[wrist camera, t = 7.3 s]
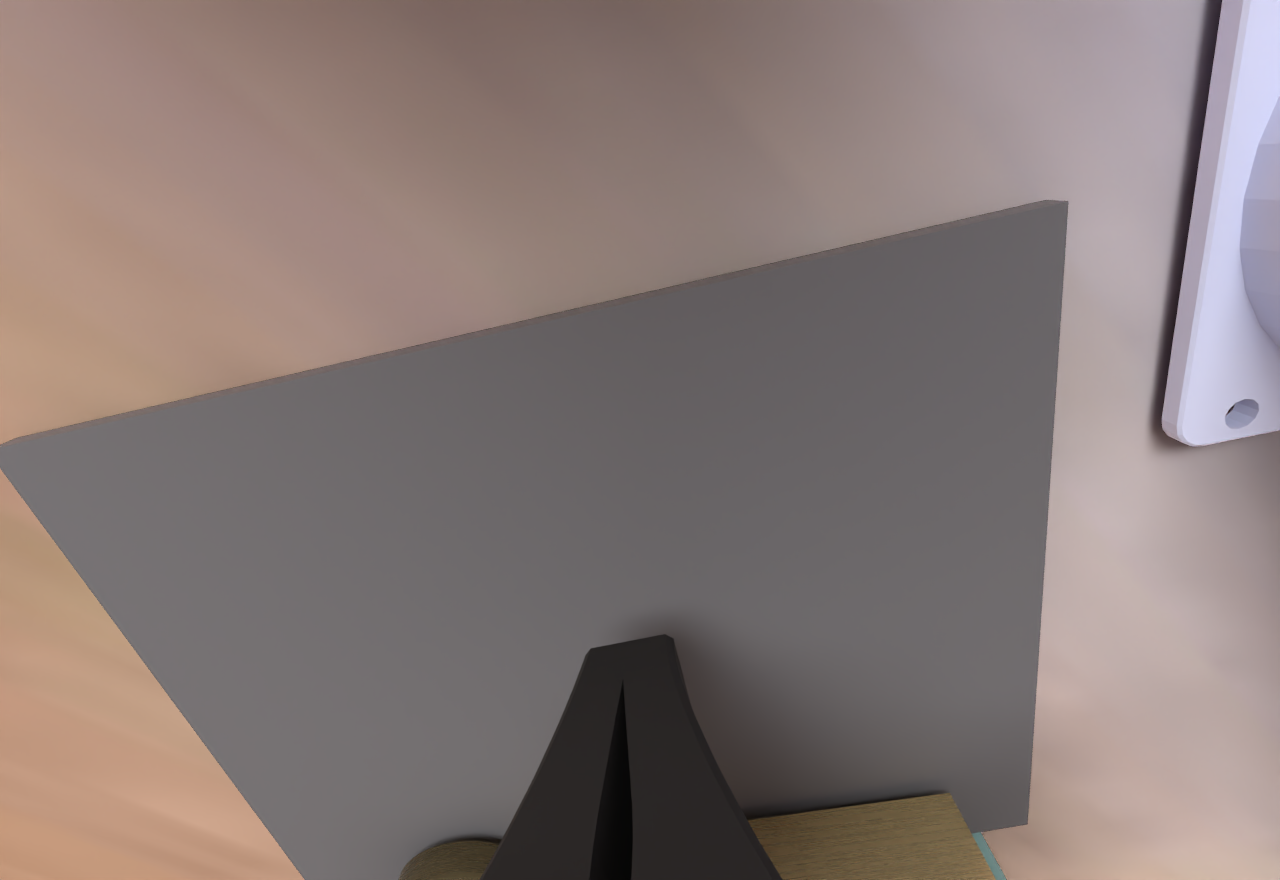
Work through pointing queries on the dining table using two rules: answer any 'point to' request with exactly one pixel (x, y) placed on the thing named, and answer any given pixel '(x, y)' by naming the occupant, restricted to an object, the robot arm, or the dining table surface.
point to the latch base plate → (605, 542)
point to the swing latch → (809, 845)
